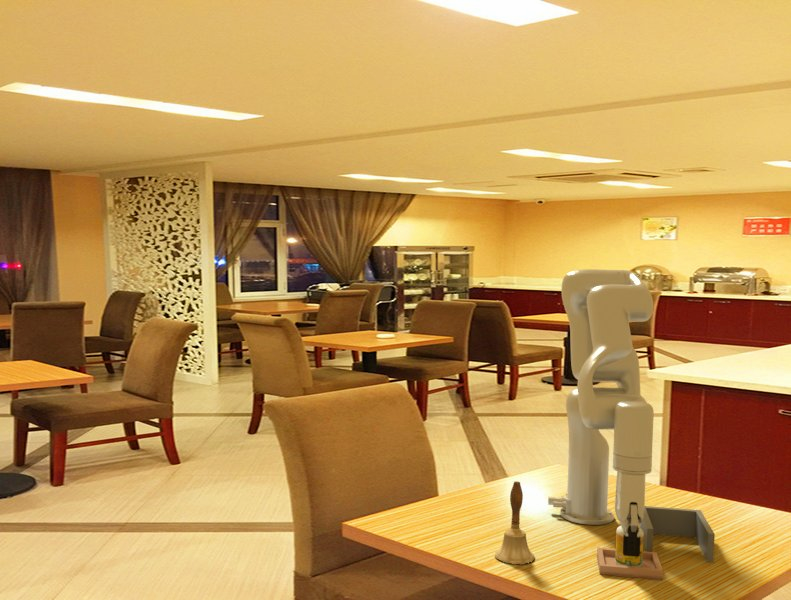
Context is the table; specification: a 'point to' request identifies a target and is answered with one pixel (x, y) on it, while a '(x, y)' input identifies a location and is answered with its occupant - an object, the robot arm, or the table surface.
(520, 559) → the hand bell
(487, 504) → the table surface
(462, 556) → the table surface
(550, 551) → the table surface
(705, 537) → the bay
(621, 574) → the tray
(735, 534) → the table surface
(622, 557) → the supplement bottle
